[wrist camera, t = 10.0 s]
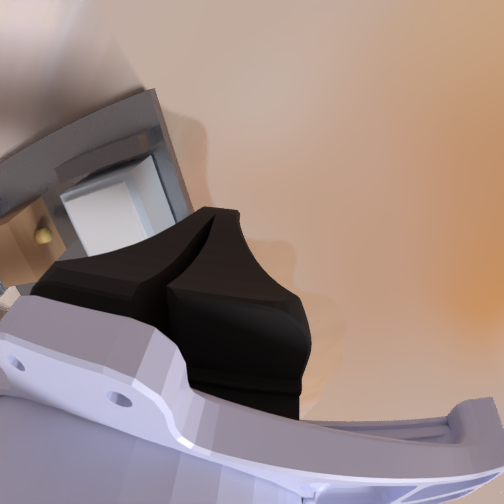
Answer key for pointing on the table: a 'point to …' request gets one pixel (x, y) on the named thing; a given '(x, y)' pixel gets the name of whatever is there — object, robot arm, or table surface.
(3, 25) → the table surface
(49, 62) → the table surface
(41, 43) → the table surface
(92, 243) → the ram
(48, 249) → the block
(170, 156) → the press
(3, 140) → the table surface
